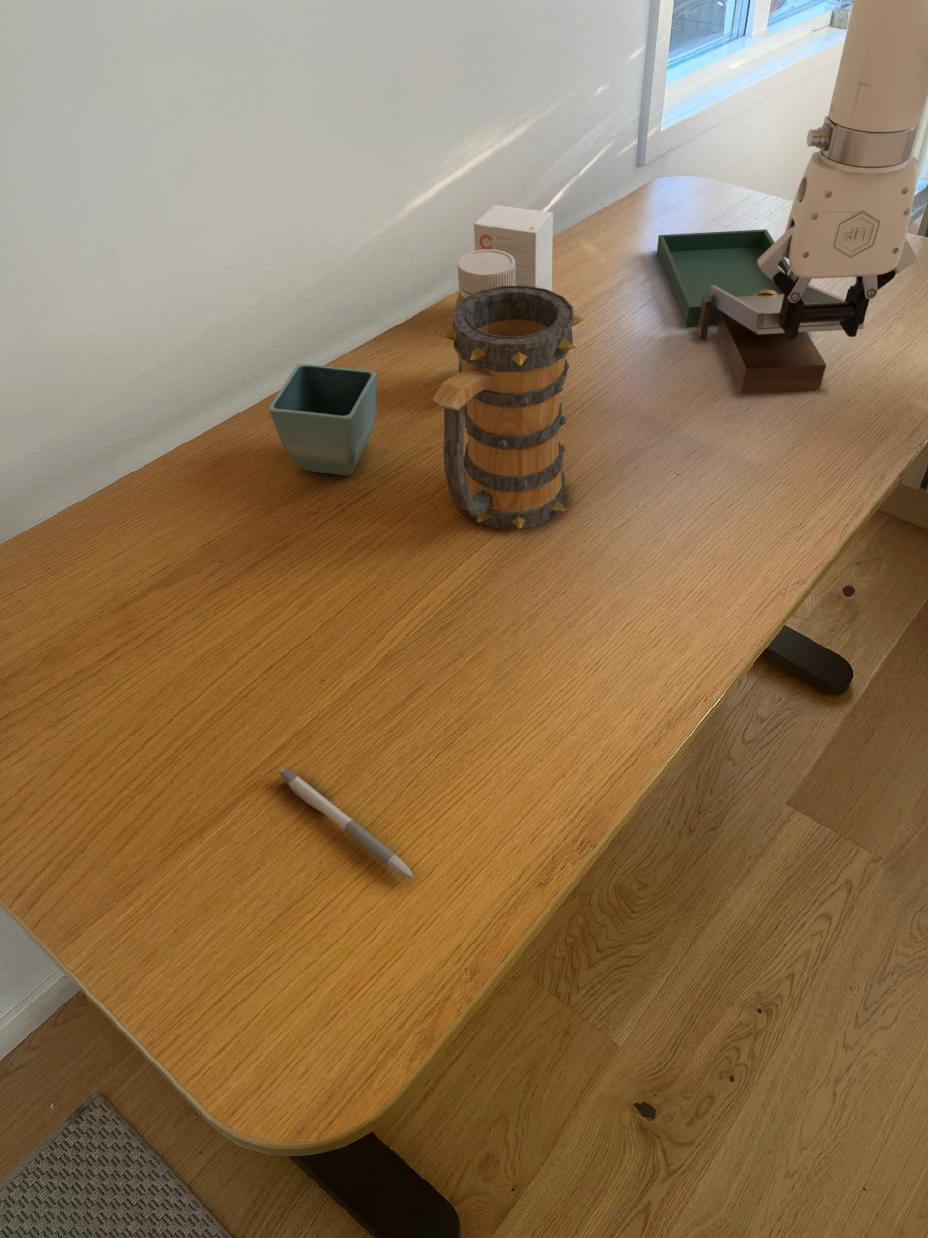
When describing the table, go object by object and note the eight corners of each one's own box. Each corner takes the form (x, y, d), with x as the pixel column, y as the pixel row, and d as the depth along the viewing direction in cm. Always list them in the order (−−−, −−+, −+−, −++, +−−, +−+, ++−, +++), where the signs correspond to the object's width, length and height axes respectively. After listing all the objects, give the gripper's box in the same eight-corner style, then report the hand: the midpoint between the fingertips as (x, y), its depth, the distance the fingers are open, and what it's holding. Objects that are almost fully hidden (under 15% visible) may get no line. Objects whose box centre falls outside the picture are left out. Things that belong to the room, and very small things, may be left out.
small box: (551, 312, 120) (554, 211, 110) (534, 335, 116) (536, 232, 106) (494, 302, 122) (493, 202, 113) (476, 324, 118) (472, 223, 109)
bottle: (508, 405, 105) (508, 279, 94) (451, 396, 106) (444, 272, 96) (525, 374, 109) (527, 251, 98) (470, 366, 111) (465, 244, 100)
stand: (838, 388, 104) (849, 349, 101) (722, 394, 105) (730, 355, 101) (801, 326, 115) (810, 288, 111) (696, 331, 115) (702, 293, 111)
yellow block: (781, 297, 113) (782, 294, 113) (767, 291, 112) (767, 288, 112) (748, 306, 118) (749, 303, 118) (734, 300, 117) (735, 297, 117)
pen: (287, 772, 71) (284, 762, 70) (418, 879, 64) (417, 869, 63) (277, 781, 70) (274, 770, 69) (408, 889, 63) (407, 879, 62)
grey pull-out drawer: (880, 336, 91) (886, 301, 89) (770, 342, 91) (774, 307, 89) (797, 298, 112) (801, 269, 111) (708, 303, 112) (710, 273, 111)
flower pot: (361, 491, 95) (350, 417, 88) (282, 481, 96) (266, 408, 90) (386, 442, 101) (377, 370, 94) (311, 434, 102) (297, 362, 96)
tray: (806, 320, 115) (811, 300, 113) (686, 327, 116) (689, 306, 114) (762, 247, 130) (766, 228, 128) (656, 253, 130) (658, 234, 128)
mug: (600, 485, 94) (615, 301, 79) (505, 581, 85) (503, 393, 70) (497, 444, 99) (494, 266, 85) (398, 530, 90) (375, 347, 76)
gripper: (780, 161, 77) (742, 354, 90) (983, 151, 77) (915, 346, 90) (758, 131, 83) (725, 317, 96) (948, 121, 82) (888, 309, 95)
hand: (818, 329), depth 93 cm, fingers closed on grey pull-out drawer, 5 cm apart
